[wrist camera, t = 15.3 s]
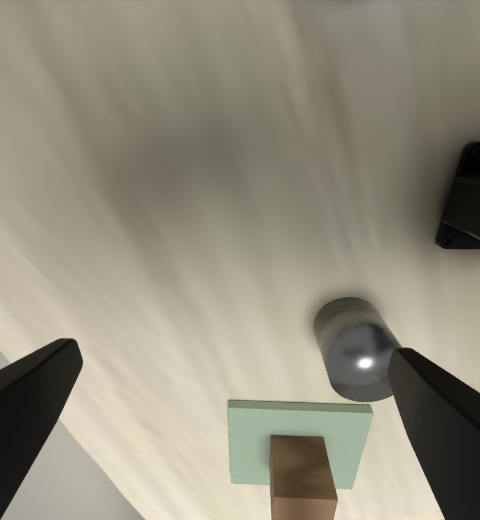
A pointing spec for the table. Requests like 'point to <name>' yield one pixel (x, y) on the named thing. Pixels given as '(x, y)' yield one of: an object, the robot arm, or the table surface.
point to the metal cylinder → (355, 349)
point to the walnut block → (301, 479)
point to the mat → (298, 424)
